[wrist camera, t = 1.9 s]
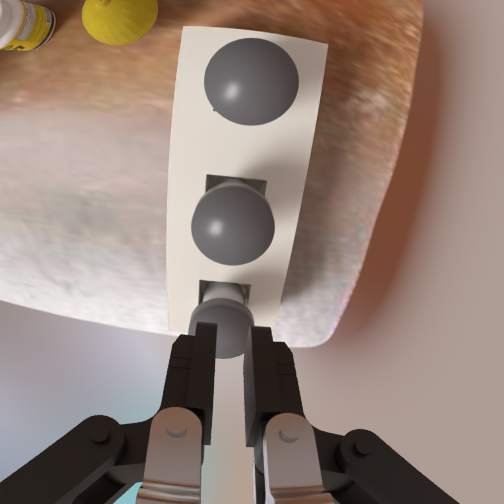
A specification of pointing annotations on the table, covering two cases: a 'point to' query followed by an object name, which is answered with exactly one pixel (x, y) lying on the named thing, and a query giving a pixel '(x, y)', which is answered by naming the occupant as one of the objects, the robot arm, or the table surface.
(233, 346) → the knob
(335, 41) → the table surface
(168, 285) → the knob panel
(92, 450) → the robot arm
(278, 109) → the knob
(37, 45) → the supplement bottle
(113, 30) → the lemon
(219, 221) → the knob middle
